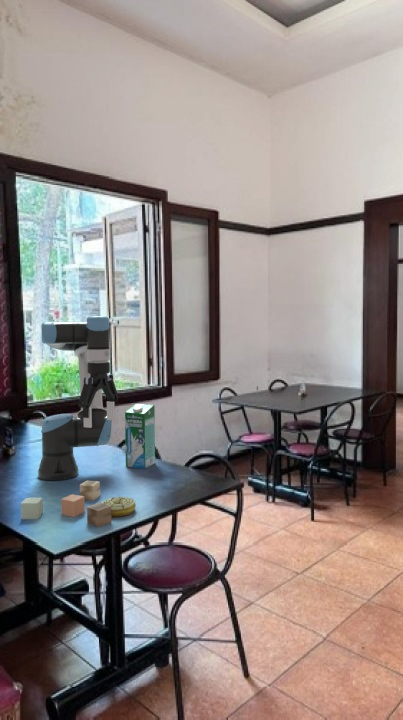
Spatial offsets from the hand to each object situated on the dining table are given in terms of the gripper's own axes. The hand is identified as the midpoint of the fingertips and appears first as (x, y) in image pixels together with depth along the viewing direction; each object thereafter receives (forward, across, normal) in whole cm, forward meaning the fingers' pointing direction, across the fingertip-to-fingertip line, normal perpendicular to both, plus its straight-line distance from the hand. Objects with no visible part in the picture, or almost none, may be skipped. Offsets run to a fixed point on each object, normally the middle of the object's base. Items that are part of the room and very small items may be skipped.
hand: (99, 423), depth 176 cm
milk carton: (+25, +37, +6) cm, 45 cm away
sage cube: (+25, -25, +8) cm, 36 cm away
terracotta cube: (+25, -18, -2) cm, 31 cm away
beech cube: (+25, -4, +1) cm, 25 cm away
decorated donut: (+25, -12, -15) cm, 31 cm away
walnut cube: (+25, -22, -14) cm, 36 cm away
